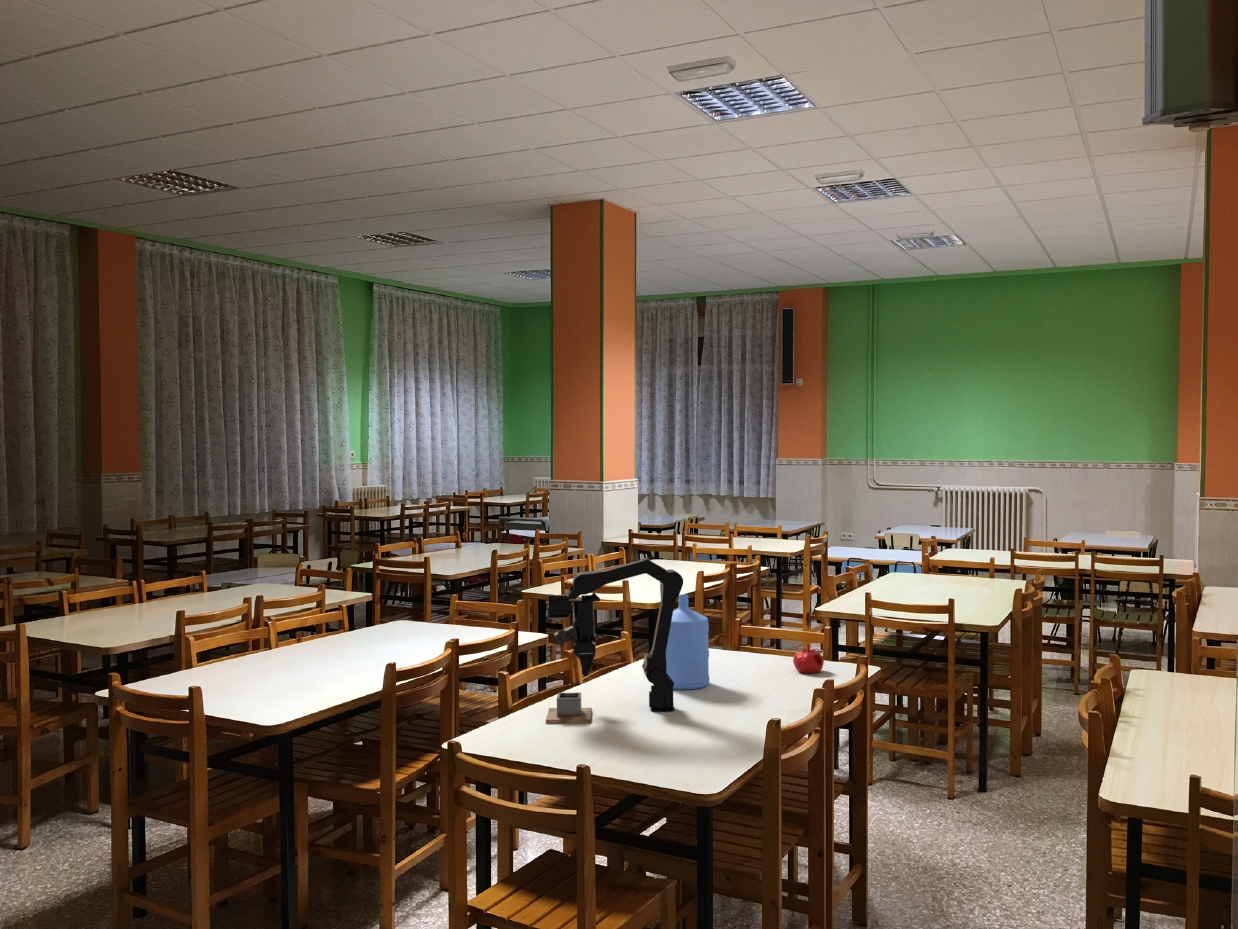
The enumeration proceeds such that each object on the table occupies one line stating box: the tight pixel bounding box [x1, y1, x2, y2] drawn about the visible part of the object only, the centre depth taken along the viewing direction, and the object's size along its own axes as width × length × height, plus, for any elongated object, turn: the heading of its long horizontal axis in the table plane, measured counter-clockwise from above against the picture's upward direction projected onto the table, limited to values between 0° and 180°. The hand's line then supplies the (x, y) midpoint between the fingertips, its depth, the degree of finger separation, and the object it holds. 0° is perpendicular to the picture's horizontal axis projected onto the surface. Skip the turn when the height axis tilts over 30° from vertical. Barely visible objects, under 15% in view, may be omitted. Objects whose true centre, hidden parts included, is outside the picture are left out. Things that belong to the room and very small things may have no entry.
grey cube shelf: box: [556, 692, 582, 717], centre depth 269 cm, size 6×6×5 cm
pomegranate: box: [792, 643, 825, 674], centre depth 321 cm, size 10×10×9 cm
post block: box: [545, 707, 593, 724], centre depth 269 cm, size 12×12×5 cm
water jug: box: [666, 594, 710, 691], centre depth 305 cm, size 16×16×28 cm
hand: (585, 672), depth 274 cm, fingers open, 9 cm apart
